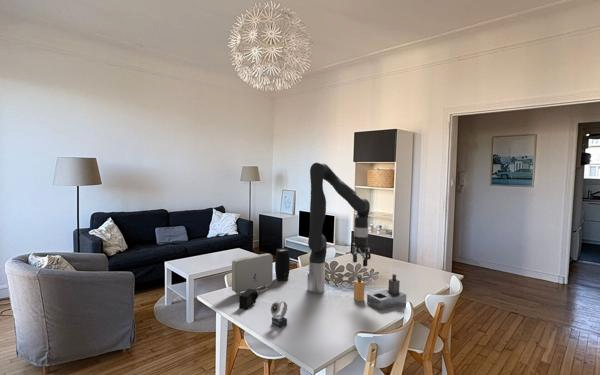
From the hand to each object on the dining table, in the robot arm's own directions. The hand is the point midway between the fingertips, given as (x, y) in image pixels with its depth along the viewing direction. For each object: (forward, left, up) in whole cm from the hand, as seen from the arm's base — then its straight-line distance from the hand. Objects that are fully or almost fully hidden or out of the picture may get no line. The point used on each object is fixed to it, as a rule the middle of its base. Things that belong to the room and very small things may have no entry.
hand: (359, 264), depth 181 cm
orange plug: (0, 0, -20) cm, 20 cm away
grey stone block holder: (+10, -11, -20) cm, 25 cm away
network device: (-48, +38, -20) cm, 64 cm away
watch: (-52, -7, -20) cm, 56 cm away
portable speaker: (-24, +48, -20) cm, 57 cm away
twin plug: (+15, -11, -18) cm, 26 cm away
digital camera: (-57, +19, -20) cm, 64 cm away
